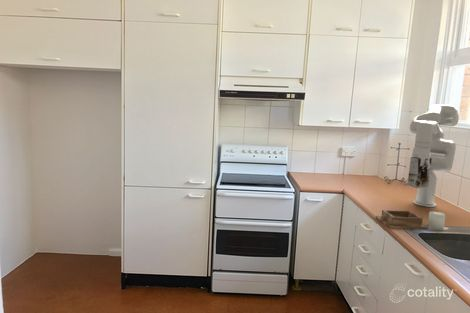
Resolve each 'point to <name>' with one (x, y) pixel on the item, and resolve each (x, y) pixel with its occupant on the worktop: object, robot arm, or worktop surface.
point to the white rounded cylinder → (436, 220)
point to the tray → (401, 220)
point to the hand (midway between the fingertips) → (418, 176)
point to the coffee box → (417, 174)
